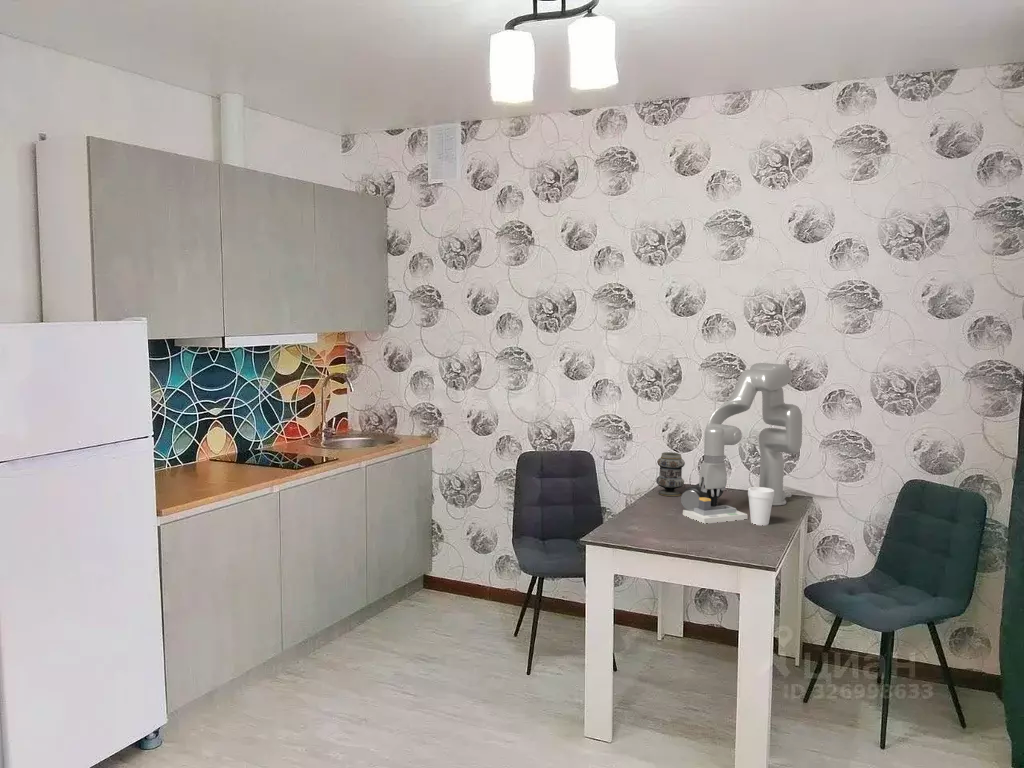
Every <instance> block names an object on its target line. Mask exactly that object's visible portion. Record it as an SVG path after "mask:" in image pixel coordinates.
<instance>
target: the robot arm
mask: <svg viewBox="0 0 1024 768" xmlns="http://www.w3.org/2000/svg"><path fill="white" fill-rule="evenodd" d="M792 377H793V371H792V369H791V367H790V366H789V365H787V364H784V363H783V364H782V363H769V362H758V363H753V364H752V365H751V366H750V368H749V369H746V370H744V371H742V372H741V374H740V375H739V377H738V380H737V381H736V384H735V386H734V388H733V391H732V393H731V396H730V397H729V399H728V400H727V401H726V402H724V403H722V404H721V405H720V406H719V407H717V408H716V409H715V410H714V411H713V412H712V413H711V415H710V417H709V419H708V421H707V423H706V427H705V429H704V438H703V439H704V441H703V443H704V444H703V446H704V447H703V462H702V463H701V466H700V471H699V480H698V483H699V486H700V487H702V488H701V491H702V492H706V493H707V495H709V498H710V499H711V506H713V507H716V506H718V499H719V498H718V496H719V493H720V492H721V491H723V492H724V491H725V490H726V486H727V482H728V478H727V477H728V476H727V475H728V474H727V467H726V463H725V460H726V459H727V456H726V455H725V446H735V445H738V444H739V443H740V442H741V440H742V438H743V433H742V430H741V429H740V428H739V427H737V426H734V425H730V424H724V423H723V422H725V421H726V420H727V419H728V418H731V417H733V416H736V415H739V414H741V413H745V412H746V411H749V410H750V409H751V406H752V404H753V402H754V399H755V397H756V396H757V393H758V392H761V395H762V397H761V399H762V402H761V403H762V408H761V409H762V410H761V411H762V420H763V423H765V424H766V425H770V426H776V427H766V428H763V429H761V431H760V432H759V433H758V434H759V435H758V445H759V453H760V455H759V456H760V460H759V462H760V465H759V480H758V481H759V482H758V483H759V485H758V487H765V488H770V489H773V490H774V497H773V502H772V506H784V505H786V504H787V500H786V498H791V497H792V492H785V491H784V472H785V460H784V457H783V455H782V453H785V454H791V455H792V454H797V453H799V452H800V450H801V448H802V445H803V414H802V411H801V408H800V407H799V406H797V405H795V404H792V403H785V401H784V400H785V399H784V397H785V395H784V389H783V387H785V386H788V384H789V383H790V382H791V381H792ZM777 427H785V429H783V428H777Z"/></svg>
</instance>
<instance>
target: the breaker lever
mask: <svg viewBox="0 0 1024 768" xmlns="http://www.w3.org/2000/svg"><path fill="white" fill-rule="evenodd" d="M699 509H701V510H704V511H707V510H711V499H710V498H707V497H701V498H699Z"/></svg>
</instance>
